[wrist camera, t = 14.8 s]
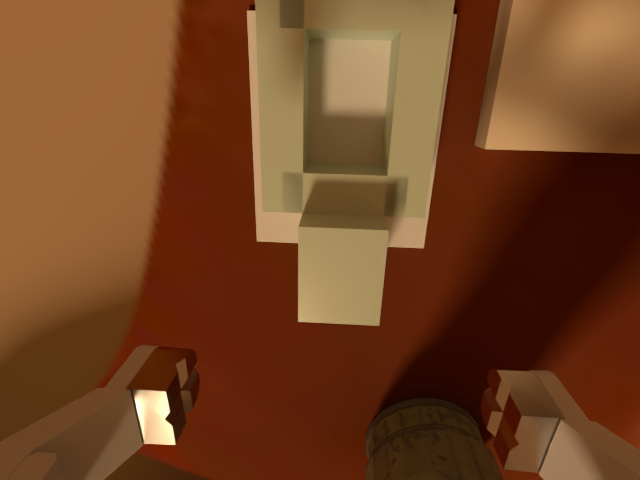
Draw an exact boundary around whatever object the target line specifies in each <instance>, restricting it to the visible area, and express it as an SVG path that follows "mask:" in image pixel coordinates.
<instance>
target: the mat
mask: <svg viewBox="0 0 640 480" xmlns="http://www.w3.org/2000/svg"><path fill="white" fill-rule="evenodd" d="M456 18H457V14H453V18H452V25H451V32H450V39H449V47H448V54H447V61H446V68H445V75H444V83H443V90H442V97H441V104H440V111H439V119H438V126H437V133H436V140H435V147H434V155H433V162H432V169H431V176H430V183H429V191H428V198H427V205H426V212H425V218H413V217H387V216H384V219H385V221H386V224H387V227H388V230H389V233H388V243H387V247H407V248H424V243H425V236H426V229H427V222H428V215H429V208H430V201H431V194H432V187H433V180H434V173H435V166H436V159H437V152H438V145H439V138H440V131H441V124H442V116H443V109H444V102H445V95H446V88H447V81H448V74H449V67H450V60H451V53H452V46H453V39H454V32H455V25H456ZM247 23H248V46H249V69H250V92H251V115H252V139H253V162H254V185H255V208H256V231H257V241H262V242H287V243H298V226H299V223H300V220H301V217H302V214H303V213H284V212H263V209H262V181H261V153H260V125H259V98H258V70H257V42H256V14H255V11H247ZM390 52H391V41H383V40H335V39H309V118H308V162H317V163H347V164H377V165H381V156H382V144H383V133H384V121H385V110H386V98H387V87H388V75H389V63H390Z"/></svg>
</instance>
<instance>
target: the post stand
mask: <svg viewBox="0 0 640 480" xmlns="http://www.w3.org/2000/svg"><path fill="white" fill-rule="evenodd" d="M475 146H478V147H481V148H483V149H498V150H530V151H562V152H594V153H626V154H640V0H500V6H499V11H498V17H497V22H496V28H495V34H494V39H493V45H492V50H491V56H490V62H489V67H488V73H487V78H486V84H485V90H484V95H483V101H482V106H481V112H480V118H479V123H478V129H477V134H476V140H475Z"/></svg>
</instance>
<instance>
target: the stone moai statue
mask: <svg viewBox="0 0 640 480" xmlns="http://www.w3.org/2000/svg"><path fill="white" fill-rule="evenodd" d="M366 452H367V456H368V464H367V466H366V480H503V477H502V475H501V473H500V470H499V468H498V465H497V463H496V461H495V458H494V456H493V454H492V453H491V451H490V450H489V449H488V448H487V447H486V446H485V444H484V441H483V439H482V436H481V432H480V429H479V427H478V424H477V422H476V421H475V420H474V418H473V417H472V416H471V415H470V414H469V413H468V411H467V410H465V409H463V408H461V407H460V406H458V405H456V404H455V403H453V402H449V401H445V400H441V399H437V398H413V399H409V400H405V401H401V402H397V403H395V404H394V405H392V406H390V407H388V408H386V409H384V410H382V411H381V412H380V413H379V414H378V415H377V416H376V417H375V419H374V420H373V421H372V422H371V424H370V426H369V428H368V431H367V433H366Z"/></svg>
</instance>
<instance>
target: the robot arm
mask: <svg viewBox="0 0 640 480" xmlns="http://www.w3.org/2000/svg"><path fill="white" fill-rule="evenodd" d="M196 362H197V357H196V351H194V350H193V349H183V348H172V347H160V346H159V347H156V346H145V345H141V346H139V347H137V348H136V349H135V350H134V351H133V353H132V354H131V355H130V356H129V358H128V359H127V360H126V361H125V363H124V364H123V365H122V366H121V368H120V369H119V370H118V372H117V373H116V374H115V375H114V377H113V378H112V379H111V380H110V382H109V383H108V384H107V385H106V387H105V388H98V389H96V390H94V391H92V392H90V393H88V394H87V395H85V396H83V397H81V398H79V399H78V400H76V401H74V402H72V403H70V404H68V405H67V406H65V407H63V408H61V409H59V410H58V411H56V412H54V413H52V414H50V415H48V416H47V417H45V418H43V419H41V420H39V421H38V422H36V423H34V424H32V425H30V426H29V427H27V428H25V429H23V430H21V431H19V432H18V433H16V434H14V435H12V436H10V437H8V438H7V439H5V440H3V441H1V442H0V480H104V479H105V478H106V477H107V476H108V475H110V474H111V473H112V472H113V471H114V470H115V469H116V468H118V467H119V466H120V465H121V464H122V463H123V462H124V461H125V460H127V459H128V458H129V457H130V456H131V455H133V454H134V453H135V452H136V451H137V450H138V449H139V448H141V447H142V446H143V443H145V444H168V445H176V443H177V441H178V439H179V437H180V434H181V432H182V430H183V428H184V426H185V424H186V419H185V414H186V413H187V412H189V411H190V410H191V409H193V407H194V404H195V402H196V400H197V396H198V391H199V382H200V380H199V373H198V372H197V371H196V370H195V369H194V366H195V364H196ZM487 382H488V384H489V386H490V387H489V388H488V389H486V390H485V391H484V392H483V395H482V399H481V413H482V417H483V421H484V424H485V426H486V429H487V430H488V431H489V432H491V433H492V434H493V435H494V436H495V440H494V444H493V445H494V448H495V450H496V452H497V455H498V457H499V459H500V462H501V464H502V466H503V469H507V470H517V471H526V472H536V473H539V475H540V476H541V477H542V478H543V479H544V480H640V450H638V449H637V448H635V447H634V446H632V445H631V444H629V443H628V442H626V441H625V440H623V439H621V438H620V437H618V436H617V435H615V434H614V433H612V432H611V431H609V430H608V429H606V428H605V427H603V426H602V425H600V424H599V423H597V422H592V421H589V420H588V418H587V417H586V416H585V414H584V413H583V412H582V410H581V409H580V408H579V406H578V405H577V404H576V402H575V401H574V400H573V398H572V397H571V396H570V394H569V393H568V392H567V390H566V389H565V388H564V386H563V385H562V384H561V382H560V381H559V380H558V378H557V377H556V376H555V374H554V373H552V372H550V371H541V370H514V369H497V368H492V369H491V370H490V371H489V373H488V376H487Z"/></svg>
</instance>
